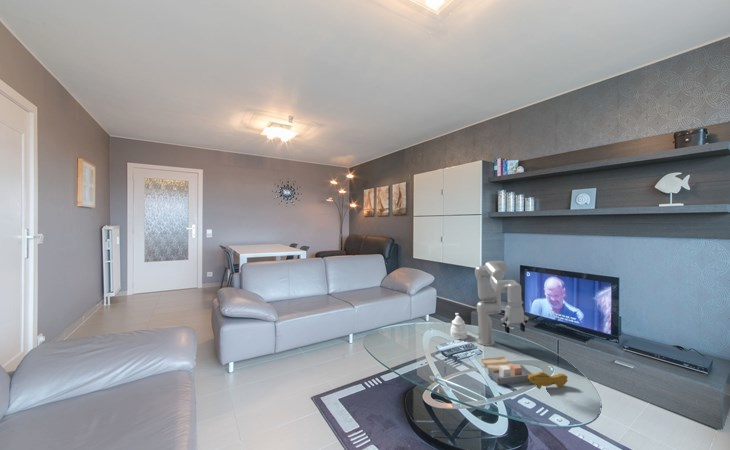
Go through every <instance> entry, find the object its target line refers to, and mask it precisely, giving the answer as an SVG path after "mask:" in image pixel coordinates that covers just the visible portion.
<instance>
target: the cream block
mask: <svg viewBox="0 0 730 450" xmlns="http://www.w3.org/2000/svg"><path fill="white" fill-rule="evenodd" d="M499 375H500V376H501V377H509V376H511V369H510V368H509V367H508V366H507V365H503V366H499Z"/></svg>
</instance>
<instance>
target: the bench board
mask: <svg viewBox="0 0 730 450" xmlns="http://www.w3.org/2000/svg"><path fill="white" fill-rule="evenodd" d="M480 360H481V361H480V362H481V363H482V364H483V365H484V366H485V367H486V369H488V368H490V369H491V370H492V371H493V372H494V373H496V372H499V366H503V365H507V366H508V367H509V368H510V365H512V364H513V363H511V362H510V360H508V359H507V358H506V357H505V356H497V357H496V356H495V357H488V358H481V359H480Z"/></svg>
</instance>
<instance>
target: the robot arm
mask: <svg viewBox="0 0 730 450" xmlns="http://www.w3.org/2000/svg"><path fill="white" fill-rule="evenodd" d="M507 270H508V266H507V263H506V262H505V261H504V260H488V261H487V262H485V264H484V265H479V266H476V267H475V269H474V276H475V278H476V281H477V283H476V284H477V296H478V298H479V300H482V301H478V302H477V303H476V313H477V320H478V321H477V322H478V323H477V327H478V328H477V329H478V333H477V335H478V337H477V338H476V342H477V343H478V344H479V345H483V346H487V347H488V346H489V347H490V346H493V345H495V340H494V339H493V327H492V326H493V324H492V323H493V322H492V318H491V317H490V315H496V314H500V313H501V312H502V297H501V296H502V295H501V294H502V293H507V294H506V297H507V300H506V301H507V304H506V306H505V309H504V316H503V317H502V318H500V321H501V323H502V325H504V331H505V332H506V333H507V334H510V333H511V332H510V325H512V324H520V326H519V327H520V328H519V330H520V331H521V332H523V333H525V332H526V331H525V330H526V324H527V323H528V321H529V318H530V317H529V316H527V315H525V311H524V307H523V304H524V301H523V300H522V285H521V284H520V283H518V282H517V281H516V280H515V279H504V277H505V273H506V272H507ZM488 278H489V279H488Z"/></svg>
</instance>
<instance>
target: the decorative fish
mask: <svg viewBox="0 0 730 450" xmlns="http://www.w3.org/2000/svg"><path fill="white" fill-rule="evenodd" d="M528 379H529V380H530V382H531V383H533V384H534V385H535V386H536V385H537V388H538V390H541V389H542V387H548V386H549V387H550V386H553V385H556V386H557V387H559V388H562V387H564V386H565V385H566V383H567V382H568V381H569V380H568V379H569V378H568V375H566V374H564V373H558V374H554V375H549V374H547V373H546V372H544V371H539V372H537V373H532V374H529V375H528Z"/></svg>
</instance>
